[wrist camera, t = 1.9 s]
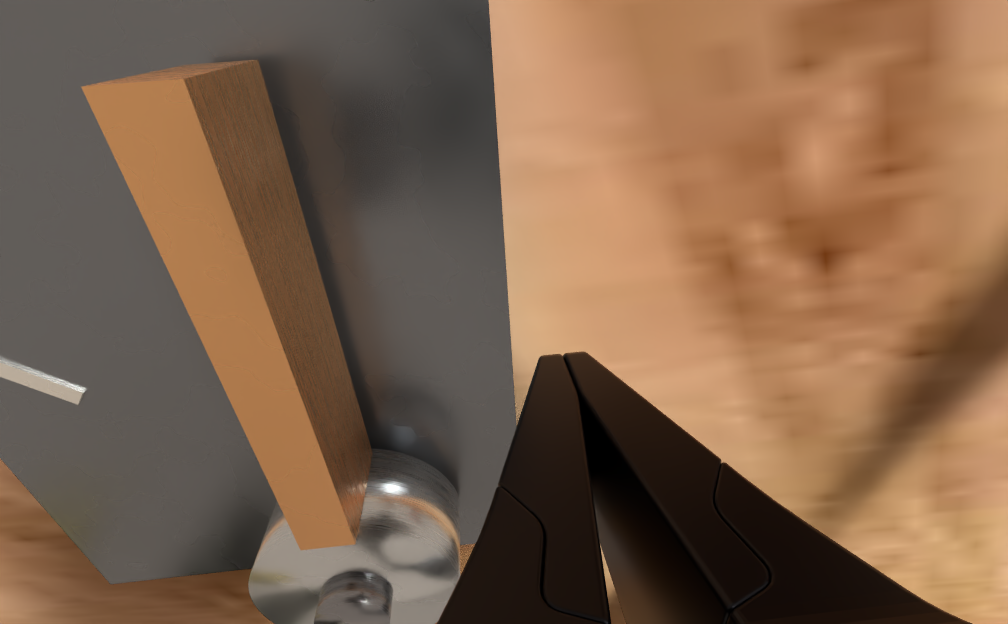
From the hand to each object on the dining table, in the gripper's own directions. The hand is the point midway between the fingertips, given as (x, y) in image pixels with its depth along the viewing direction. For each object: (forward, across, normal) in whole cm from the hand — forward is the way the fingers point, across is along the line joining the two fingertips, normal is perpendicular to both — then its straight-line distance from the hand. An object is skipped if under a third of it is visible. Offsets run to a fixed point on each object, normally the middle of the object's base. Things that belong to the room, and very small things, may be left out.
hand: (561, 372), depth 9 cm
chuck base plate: (+7, +10, +4) cm, 13 cm away
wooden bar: (+6, +7, +5) cm, 10 cm away
